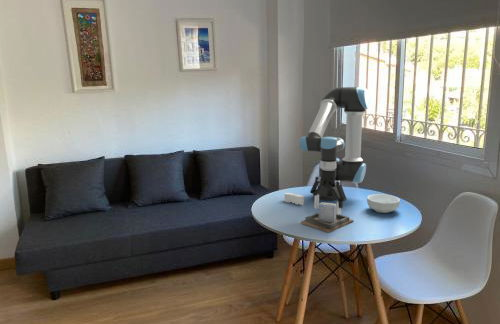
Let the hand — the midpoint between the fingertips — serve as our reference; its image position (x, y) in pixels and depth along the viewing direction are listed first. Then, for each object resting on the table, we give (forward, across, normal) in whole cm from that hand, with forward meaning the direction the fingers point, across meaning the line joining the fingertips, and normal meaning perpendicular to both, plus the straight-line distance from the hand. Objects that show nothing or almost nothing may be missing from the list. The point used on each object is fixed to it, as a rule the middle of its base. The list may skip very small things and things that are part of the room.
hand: (327, 210), depth 201 cm
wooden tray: (+6, 0, 0) cm, 6 cm away
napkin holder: (+7, -32, +12) cm, 35 cm away
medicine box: (+5, 0, 0) cm, 5 cm away
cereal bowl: (+6, +10, +35) cm, 37 cm away
